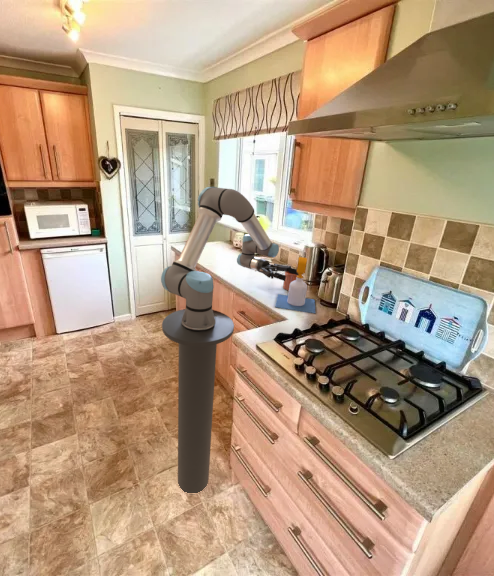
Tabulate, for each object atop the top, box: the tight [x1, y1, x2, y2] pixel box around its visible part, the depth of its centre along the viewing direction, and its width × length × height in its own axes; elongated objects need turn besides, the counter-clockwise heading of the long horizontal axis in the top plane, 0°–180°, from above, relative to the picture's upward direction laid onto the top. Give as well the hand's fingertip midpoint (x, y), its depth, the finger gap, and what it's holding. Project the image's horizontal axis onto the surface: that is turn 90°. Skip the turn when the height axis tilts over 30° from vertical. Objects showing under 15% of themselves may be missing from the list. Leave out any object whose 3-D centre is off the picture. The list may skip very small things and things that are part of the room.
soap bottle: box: [287, 256, 308, 306], centre depth 157 cm, size 9×9×25 cm
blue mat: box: [274, 293, 316, 315], centre depth 161 cm, size 20×18×1 cm
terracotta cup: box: [282, 271, 298, 292], centre depth 180 cm, size 8×8×10 cm
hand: (292, 275), depth 159 cm, fingers open, 13 cm apart
